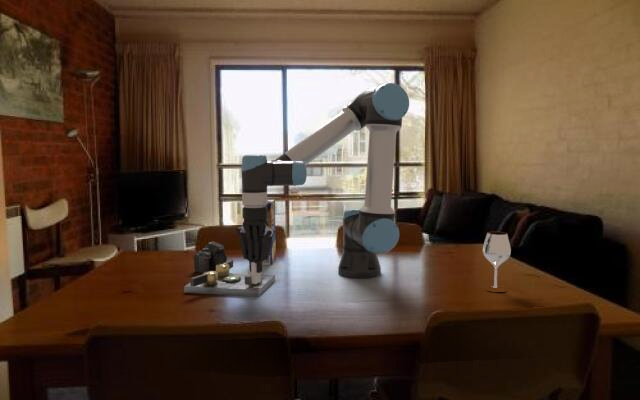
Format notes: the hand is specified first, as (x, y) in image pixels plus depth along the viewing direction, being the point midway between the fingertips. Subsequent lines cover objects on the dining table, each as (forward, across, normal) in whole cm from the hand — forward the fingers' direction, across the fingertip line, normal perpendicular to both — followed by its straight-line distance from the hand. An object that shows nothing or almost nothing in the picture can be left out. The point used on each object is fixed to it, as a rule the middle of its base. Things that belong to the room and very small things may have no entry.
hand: (256, 282), depth 147 cm
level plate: (+4, +12, -3) cm, 13 cm away
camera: (+4, +33, -18) cm, 37 cm away
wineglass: (+4, -64, -38) cm, 75 cm away
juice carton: (+4, +23, -37) cm, 44 cm away
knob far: (+1, +19, -9) cm, 21 cm away
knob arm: (+1, +3, -2) cm, 4 cm away
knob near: (+1, +15, +6) cm, 16 cm away
